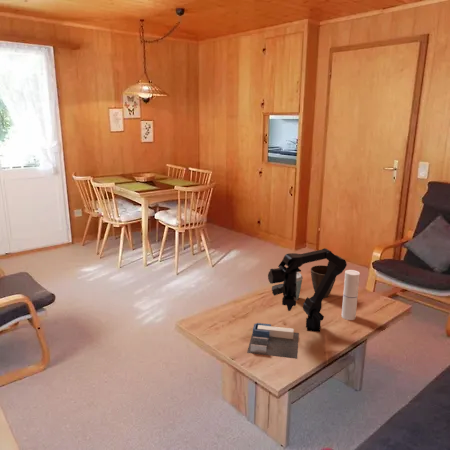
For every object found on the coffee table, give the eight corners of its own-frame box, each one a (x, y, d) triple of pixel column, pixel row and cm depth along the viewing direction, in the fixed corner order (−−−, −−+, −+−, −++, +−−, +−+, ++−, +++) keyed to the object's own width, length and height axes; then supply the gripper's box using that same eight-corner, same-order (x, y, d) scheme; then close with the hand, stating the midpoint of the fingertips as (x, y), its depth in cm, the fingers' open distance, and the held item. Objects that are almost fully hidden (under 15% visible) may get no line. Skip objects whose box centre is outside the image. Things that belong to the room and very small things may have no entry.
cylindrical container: (340, 318, 215) (343, 273, 208) (343, 312, 221) (346, 268, 214) (354, 321, 211) (358, 276, 205) (356, 315, 217) (361, 271, 211)
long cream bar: (293, 335, 197) (293, 328, 196) (293, 339, 194) (293, 332, 193) (258, 331, 200) (258, 324, 199) (257, 335, 197) (257, 328, 196)
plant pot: (316, 287, 251) (318, 263, 247) (339, 294, 242) (341, 269, 238) (304, 296, 240) (306, 270, 236) (328, 303, 231) (330, 276, 227)
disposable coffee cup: (301, 303, 231) (302, 278, 227) (282, 301, 233) (283, 277, 229) (301, 295, 241) (303, 271, 237) (283, 293, 243) (284, 270, 239)
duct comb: (298, 333, 199) (299, 326, 198) (297, 359, 178) (297, 351, 177) (253, 329, 203) (253, 321, 202) (246, 353, 183) (247, 345, 182)
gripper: (274, 272, 203) (273, 300, 208) (271, 287, 186) (270, 318, 190) (297, 273, 201) (296, 302, 206) (296, 289, 184) (295, 320, 188)
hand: (289, 310), depth 197 cm, fingers closed
